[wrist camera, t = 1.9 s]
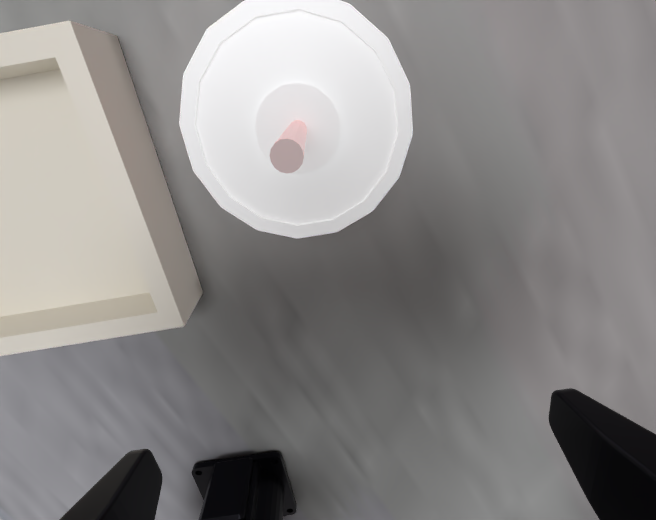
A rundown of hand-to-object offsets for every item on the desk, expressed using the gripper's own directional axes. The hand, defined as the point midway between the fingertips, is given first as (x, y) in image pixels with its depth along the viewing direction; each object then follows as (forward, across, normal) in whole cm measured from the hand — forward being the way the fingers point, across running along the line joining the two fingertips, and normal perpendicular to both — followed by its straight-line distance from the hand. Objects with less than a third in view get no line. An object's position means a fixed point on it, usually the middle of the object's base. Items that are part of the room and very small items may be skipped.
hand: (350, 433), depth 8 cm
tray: (+13, +14, -4) cm, 20 cm away
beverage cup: (+14, 0, -6) cm, 15 cm away
